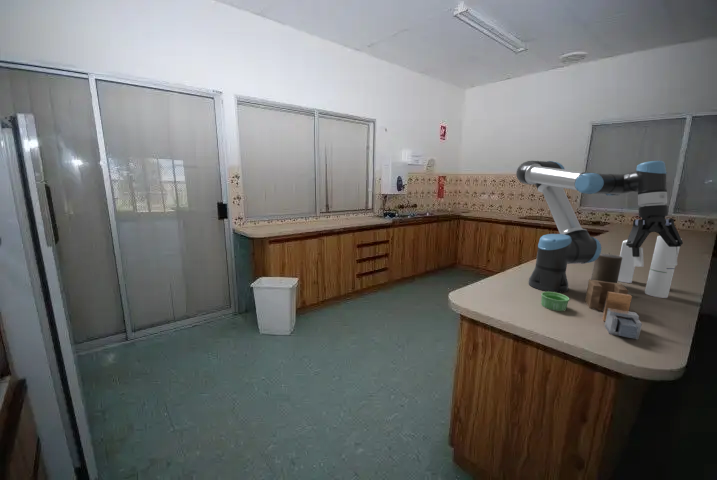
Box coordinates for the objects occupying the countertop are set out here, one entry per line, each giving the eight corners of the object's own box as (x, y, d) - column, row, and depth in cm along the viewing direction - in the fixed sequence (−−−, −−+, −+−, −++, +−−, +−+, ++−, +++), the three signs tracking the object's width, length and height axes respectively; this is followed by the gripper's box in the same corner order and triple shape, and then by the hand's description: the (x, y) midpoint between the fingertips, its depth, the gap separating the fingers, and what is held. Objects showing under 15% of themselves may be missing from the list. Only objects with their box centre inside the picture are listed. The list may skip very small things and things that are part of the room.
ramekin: (538, 300, 122) (539, 290, 121) (564, 304, 118) (566, 293, 117) (541, 309, 114) (543, 298, 113) (570, 313, 110) (572, 302, 109)
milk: (630, 280, 150) (640, 236, 145) (631, 283, 145) (641, 238, 141) (614, 277, 154) (624, 234, 149) (614, 280, 149) (624, 236, 144)
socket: (589, 308, 115) (593, 285, 114) (585, 300, 122) (589, 279, 121) (623, 314, 111) (628, 290, 109) (616, 306, 118) (621, 283, 116)
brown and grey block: (614, 337, 93) (620, 307, 91) (598, 313, 111) (603, 286, 109) (639, 343, 91) (647, 311, 88) (619, 316, 108) (625, 289, 106)
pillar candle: (613, 288, 137) (620, 256, 134) (587, 282, 145) (593, 251, 142) (618, 284, 143) (625, 253, 140) (593, 279, 151) (599, 249, 148)
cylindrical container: (672, 298, 127) (686, 239, 122) (652, 296, 129) (665, 238, 124) (659, 292, 134) (672, 236, 129) (640, 290, 136) (653, 235, 130)
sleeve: (609, 333, 96) (613, 315, 95) (604, 325, 101) (608, 308, 100) (638, 339, 93) (642, 320, 92) (631, 331, 98) (635, 312, 97)
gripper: (632, 204, 103) (635, 267, 103) (695, 204, 107) (698, 265, 106) (611, 207, 111) (614, 266, 110) (670, 206, 114) (673, 264, 114)
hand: (655, 265), depth 108 cm, fingers open, 13 cm apart
